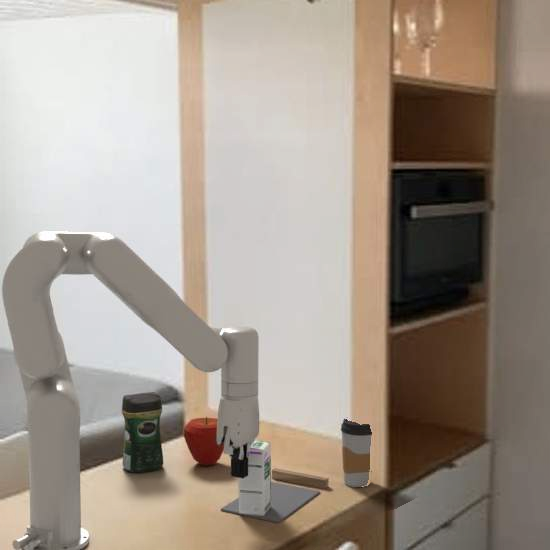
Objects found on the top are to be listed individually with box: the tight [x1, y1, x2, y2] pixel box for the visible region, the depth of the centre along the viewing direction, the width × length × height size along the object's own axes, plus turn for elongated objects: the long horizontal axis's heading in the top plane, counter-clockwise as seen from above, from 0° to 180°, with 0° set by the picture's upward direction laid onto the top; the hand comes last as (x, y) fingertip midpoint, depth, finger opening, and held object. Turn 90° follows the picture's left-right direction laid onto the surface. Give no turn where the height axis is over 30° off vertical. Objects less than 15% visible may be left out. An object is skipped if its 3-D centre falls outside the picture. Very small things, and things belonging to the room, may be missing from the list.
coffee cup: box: [340, 418, 372, 488], centre depth 205 cm, size 8×8×15 cm
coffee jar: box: [121, 391, 164, 474], centre depth 214 cm, size 10×8×19 cm
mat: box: [220, 481, 321, 524], centre depth 194 cm, size 20×14×1 cm
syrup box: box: [237, 439, 272, 516], centre depth 187 cm, size 6×6×14 cm
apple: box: [183, 416, 224, 466], centre depth 217 cm, size 11×11×12 cm
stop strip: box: [271, 467, 330, 489], centre depth 206 cm, size 2×14×2 cm, turn 62°
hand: (239, 475), depth 180 cm, fingers closed
